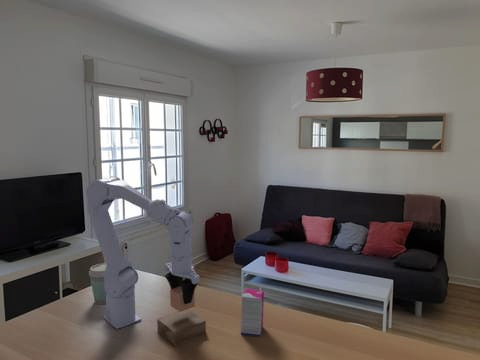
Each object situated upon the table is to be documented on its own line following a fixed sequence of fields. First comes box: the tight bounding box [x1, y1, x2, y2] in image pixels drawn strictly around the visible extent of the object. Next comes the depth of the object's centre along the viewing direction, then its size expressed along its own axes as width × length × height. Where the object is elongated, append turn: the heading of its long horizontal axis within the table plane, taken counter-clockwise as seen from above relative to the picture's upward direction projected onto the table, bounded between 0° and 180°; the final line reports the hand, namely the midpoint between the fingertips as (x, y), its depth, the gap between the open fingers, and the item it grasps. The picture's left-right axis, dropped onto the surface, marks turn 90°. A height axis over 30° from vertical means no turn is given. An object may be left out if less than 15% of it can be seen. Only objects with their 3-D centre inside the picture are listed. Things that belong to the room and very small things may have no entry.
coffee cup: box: [88, 262, 107, 306], centre depth 129 cm, size 8×9×12 cm
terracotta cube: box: [169, 286, 196, 312], centre depth 111 cm, size 5×5×5 cm
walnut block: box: [156, 309, 207, 346], centre depth 110 cm, size 10×10×4 cm
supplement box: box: [240, 288, 265, 337], centre depth 110 cm, size 6×6×12 cm
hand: (182, 299), depth 111 cm, fingers closed on terracotta cube, 5 cm apart
